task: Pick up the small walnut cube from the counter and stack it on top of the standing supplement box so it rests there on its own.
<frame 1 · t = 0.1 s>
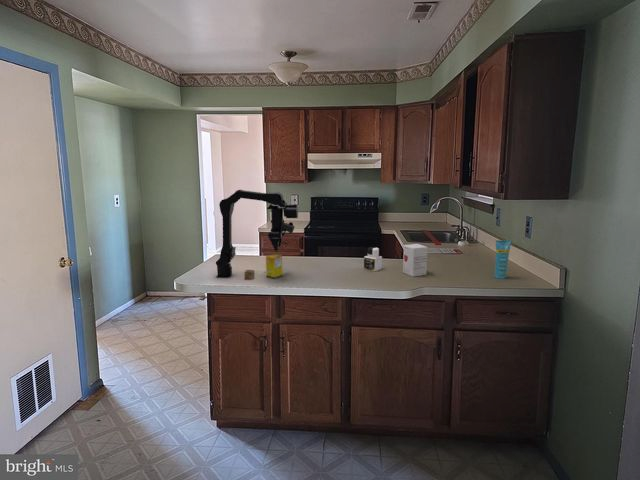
hand: (277, 248, 207), 15 cm above the counter, tool pointing down, fingers open, 9 cm apart
walnut cube: (249, 278, 207), on the counter
tube: (500, 278, 207), on the counter
supplement box 2: (414, 274, 214), on the counter
medicine bottle: (372, 269, 223), on the counter
supplement box: (274, 277, 210), on the counter
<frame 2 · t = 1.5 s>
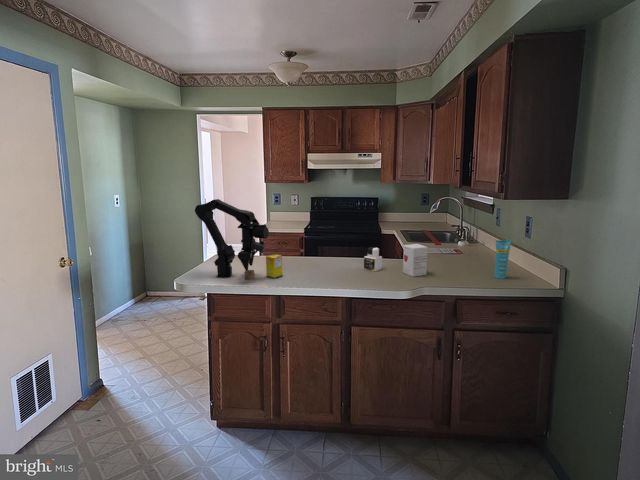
hand: (248, 267, 206), 5 cm above the counter, tool pointing down, fingers open, 9 cm apart
nothing on the counter moved.
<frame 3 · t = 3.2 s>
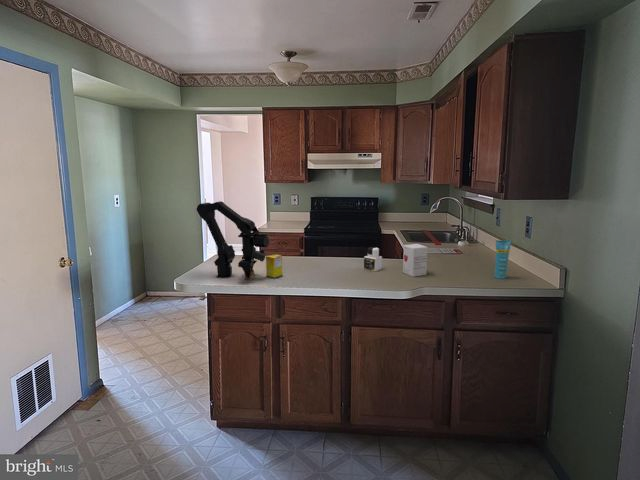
hand: (249, 276, 206), 1 cm above the counter, tool pointing down, fingers closed on walnut cube, 4 cm apart
walnut cube: (249, 278, 207), on the counter, touching gripper
everything else where it was.
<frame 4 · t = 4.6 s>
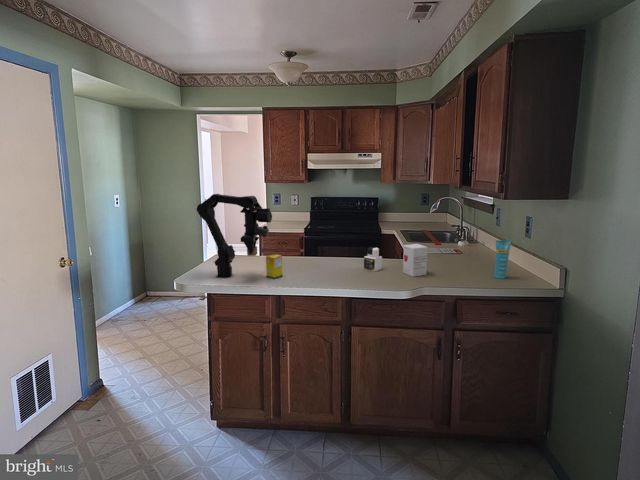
hand: (252, 252, 204), 13 cm above the counter, tool pointing down, fingers closed on walnut cube, 4 cm apart
walnut cube: (252, 254, 205), point 12 cm above the counter, touching gripper
everything else where it was.
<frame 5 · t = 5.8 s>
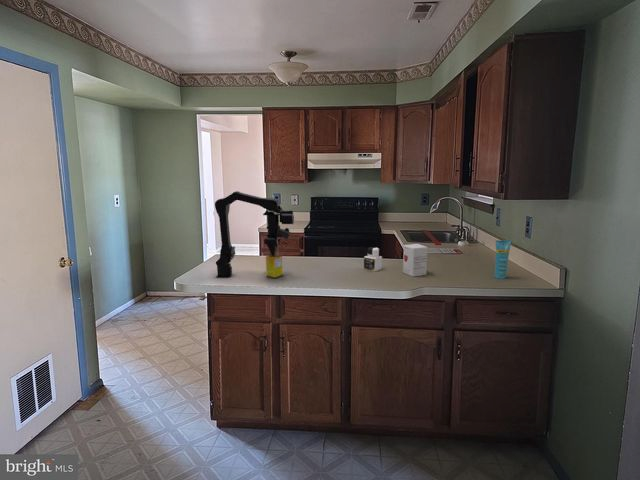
hand: (273, 254, 207), 12 cm above the counter, tool pointing down, fingers closed on walnut cube, 4 cm apart
walnut cube: (274, 255, 208), point 11 cm above the counter, touching gripper, supplement box
supplement box: (274, 277, 210), on the counter, touching walnut cube
everything else where it was.
when the fingers open (12 cm above the counter, at t = 6.2 s): walnut cube stays where it is, resting on supplement box.
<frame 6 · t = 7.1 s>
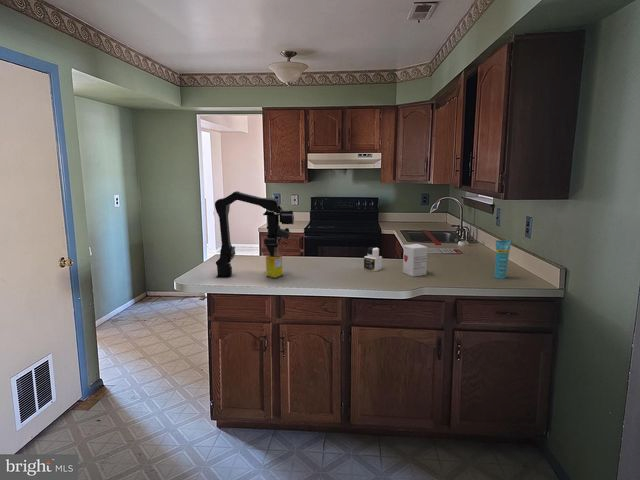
hand: (273, 254, 207), 12 cm above the counter, tool pointing down, fingers open, 9 cm apart
walnut cube: (274, 255, 208), point 11 cm above the counter, touching supplement box
everything else where it was.
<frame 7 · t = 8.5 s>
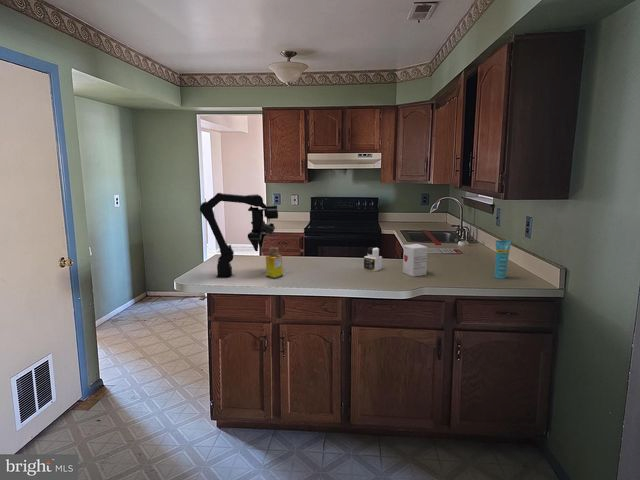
hand: (258, 249, 213), 13 cm above the counter, tool pointing down, fingers open, 9 cm apart
nothing on the counter moved.
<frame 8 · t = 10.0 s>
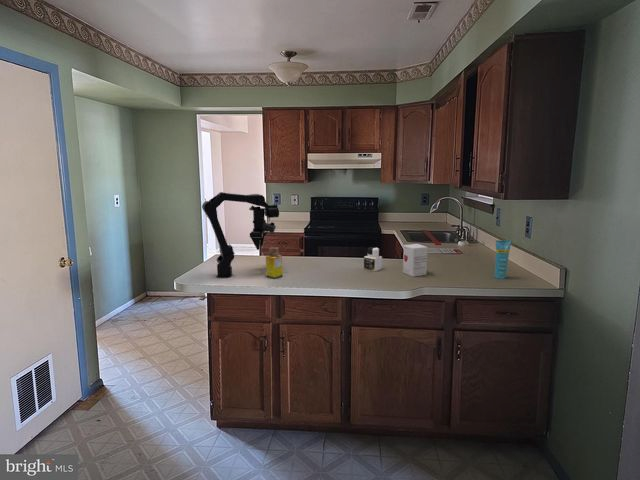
hand: (259, 247, 217), 13 cm above the counter, tool pointing down, fingers open, 9 cm apart
nothing on the counter moved.
at the end: walnut cube 0.1 cm off-centre on the supplement box, point 11.1 cm above the supplement box's base; supplement box tilted 0°; the gripper is holding nothing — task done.
